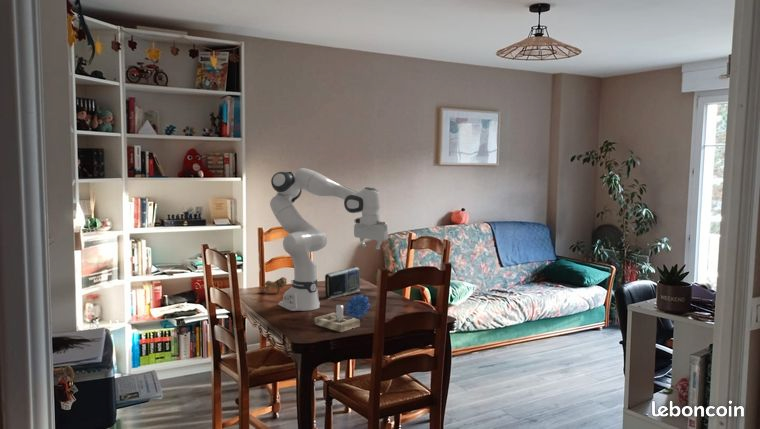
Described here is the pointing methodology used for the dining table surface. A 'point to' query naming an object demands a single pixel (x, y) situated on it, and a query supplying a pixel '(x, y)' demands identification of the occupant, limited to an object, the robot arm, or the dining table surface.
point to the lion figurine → (275, 284)
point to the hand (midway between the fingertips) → (370, 248)
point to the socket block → (331, 323)
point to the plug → (339, 313)
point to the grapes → (357, 306)
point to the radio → (342, 283)
